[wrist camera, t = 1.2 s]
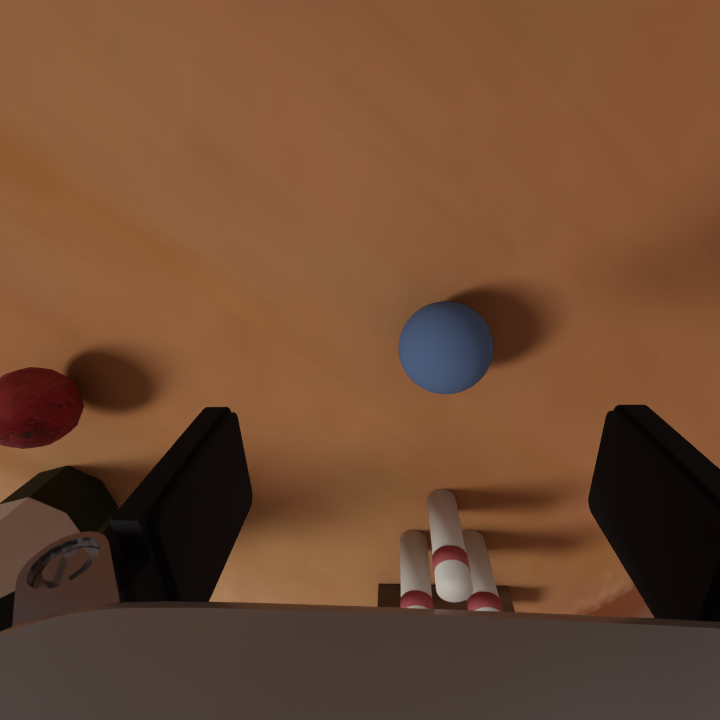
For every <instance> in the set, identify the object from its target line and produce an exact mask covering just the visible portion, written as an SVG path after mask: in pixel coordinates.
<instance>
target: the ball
mask: <svg viewBox="0 0 720 720" xmlns="http://www.w3.org/2000/svg"><path fill="white" fill-rule="evenodd" d="M399 356H400V360H401V364H402V366H403V368H404V370H405V372H406V373H407V375H408V376H409V377H410V379H411V380H412V381H413V382H414V383H416V384H417V385H418V386H420V387H421V388H423V389H425V390H427V391H430V392H433V393H438V394H454V393H458V392H461V391H464V390H466V389H468V388H470V387H472V386H473V385H475V384H476V383H477V382H478V381H479V380H480V379H481V378H482V377H483V376H484V375H485V373H486V372H487V370H488V368H489V366H490V363H491V361H492V357H493V338H492V334H491V331H490V329H489V327H488V325H487V323H486V322H485V320H484V319H483V318H482V317H481V316H480V315H479V314H478V313H477V312H476V311H475V310H473V309H472V308H470V307H468V306H466V305H463V304H460V303H457V302H450V301H442V302H436V303H432V304H429V305H427V306H425V307H423V308H421V309H419V310H418V311H417V312H415V313H414V314H413V315H412V316H411V317H410V319H409V320H408V321H407V323H406V324H405V326H404V328H403V330H402V332H401V335H400V340H399Z"/></svg>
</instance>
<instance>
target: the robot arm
mask: <svg viewBox="0 0 720 720" xmlns="http://www.w3.org/2000/svg"><path fill="white" fill-rule="evenodd" d="M588 502H589V508H590V511H591V513H592V515H593V516H594V518H595V520H596V521H597V523H598V525H599V526H600V528H601V530H602V531H603V533H604V535H605V536H606V538H607V540H608V541H609V543H610V545H611V546H612V548H613V550H614V551H615V553H616V555H617V556H618V558H619V560H620V561H621V563H622V565H623V566H624V568H625V570H626V571H627V573H628V575H629V576H630V578H631V579H632V581H633V583H634V584H635V586H636V588H637V589H638V591H639V593H640V594H641V596H642V598H643V599H644V601H645V603H646V604H647V606H648V608H649V609H650V611H651V613H652V614H653V616H654V618H637V617H613V616H591V615H569V614H546V613H523V612H498V611H473V610H447V609H421V608H394V607H367V606H336V605H306V604H275V603H244V602H209V600H210V598H211V595H212V593H213V591H214V589H215V586H216V584H217V582H218V580H219V577H220V575H221V573H222V571H223V568H224V566H225V564H226V562H227V559H228V557H229V555H230V553H231V550H232V548H233V546H234V544H235V541H236V539H237V537H238V535H239V532H240V530H241V528H242V526H243V523H244V521H245V519H246V517H247V514H248V512H249V510H250V507H251V504H252V489H251V483H250V478H249V473H248V468H247V463H246V458H245V452H244V447H243V442H242V437H241V432H240V427H239V421H238V417H237V414H236V413H235V412H232V413H231V411H230V409H229V408H228V407H206V408H204V409H203V410H202V412H201V413H200V414H199V415H198V416H197V417H196V419H195V420H194V421H193V422H192V423H191V425H190V426H189V427H188V428H187V429H186V430H185V432H184V433H183V434H182V435H181V436H180V437H179V439H178V440H177V441H176V442H175V443H174V445H173V446H172V447H171V448H170V449H169V450H168V452H167V453H166V454H165V455H164V456H163V458H162V459H161V460H160V461H159V462H158V463H157V465H156V466H155V467H154V468H153V469H152V471H151V472H150V473H149V474H148V475H147V476H146V478H145V479H144V480H143V481H142V482H141V483H140V485H139V486H138V487H137V488H136V489H135V491H134V492H133V493H132V494H131V495H130V496H129V498H128V499H127V500H126V501H125V502H124V504H123V505H122V506H121V507H120V508H119V509H118V511H117V512H116V513H115V514H114V515H113V517H112V518H111V519H110V520H109V521H110V523H111V524H110V525H109V526H108V528H107V529H106V530H105V531H104V532H103V534H101V533H99V532H91V531H87V532H80V533H75V534H72V535H69V536H66V537H63V538H61V539H59V540H57V541H55V542H53V543H51V544H49V545H48V546H46V547H45V548H43V549H42V550H41V551H39V552H38V553H36V554H35V555H34V556H33V557H32V558H31V559H30V560H29V561H28V562H27V563H26V564H25V565H24V567H23V568H22V570H21V571H20V572H19V574H18V578H17V581H16V585H15V591H14V592H12V593H10V594H8V595H6V596H4V597H2V598H0V720H720V469H719V468H718V467H717V466H715V465H714V464H713V463H712V462H711V461H710V460H709V459H707V458H706V457H705V456H704V455H703V454H702V453H701V452H699V451H698V450H697V449H696V448H695V447H694V446H693V445H691V444H690V443H689V442H688V441H687V440H686V439H684V438H683V437H682V436H681V435H680V434H679V433H678V432H676V431H675V430H674V429H673V428H672V427H671V426H670V425H668V424H667V423H666V422H665V421H664V420H663V419H662V418H660V417H659V416H658V415H657V414H656V413H655V412H654V411H652V410H651V409H650V408H649V407H647V406H646V405H618V406H616V407H615V408H614V410H613V411H609V412H608V413H607V415H606V419H605V424H604V428H603V433H602V437H601V442H600V447H599V451H598V456H597V460H596V465H595V470H594V474H593V479H592V484H591V488H590V493H589V499H588Z"/></svg>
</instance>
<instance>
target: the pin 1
mask: <svg viewBox="0 0 720 720" xmlns="http://www.w3.org/2000/svg"><path fill="white" fill-rule="evenodd" d="M400 566H401V599H400V608H421V609H434V607H433V599H432V591H431V580H430V568H429V557H428V545H427V538H426V536H425V535H424V534H423V533H422V532H420V531H416V530H410V531H407V532H405V533H403V534H402V536H401V538H400Z"/></svg>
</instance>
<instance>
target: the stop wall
mask: <svg viewBox="0 0 720 720" xmlns="http://www.w3.org/2000/svg"><path fill="white" fill-rule="evenodd" d="M496 588H497V592H498V596H499V599H500V601H501V605H502V609H503V612H515V610H514V607H513V603H512V600H511V596H510V593H509V589H508V586H496ZM431 591H432V599H433V607H434V609H447V610H468V609H467V599H466V600H464V601H462V602H448V601H445V600H443V599H442V598H440V597H439V596H438V594H437V592H436V585H431ZM400 599H401V584H379V587H378V607H394V608H400Z"/></svg>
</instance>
